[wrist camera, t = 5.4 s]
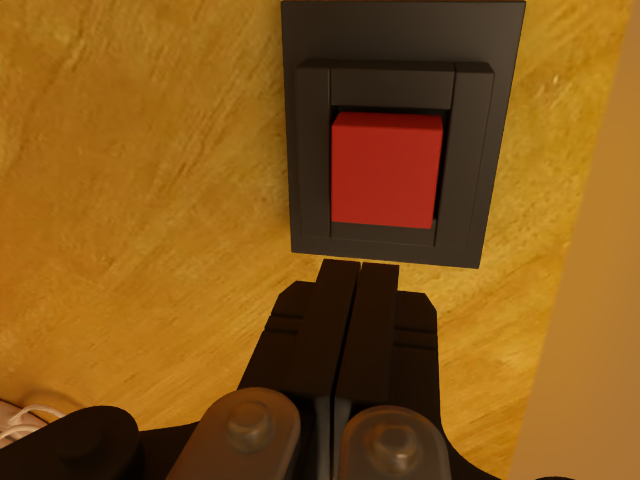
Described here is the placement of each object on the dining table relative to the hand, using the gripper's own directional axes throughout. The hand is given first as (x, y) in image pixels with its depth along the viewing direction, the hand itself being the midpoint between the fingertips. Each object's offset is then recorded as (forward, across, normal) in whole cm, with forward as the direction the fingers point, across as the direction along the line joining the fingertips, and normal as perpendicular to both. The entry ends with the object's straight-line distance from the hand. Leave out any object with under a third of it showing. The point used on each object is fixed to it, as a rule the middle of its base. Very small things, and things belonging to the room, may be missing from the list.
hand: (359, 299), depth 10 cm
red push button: (+12, 0, 0) cm, 12 cm away
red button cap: (+8, 0, 0) cm, 8 cm away
